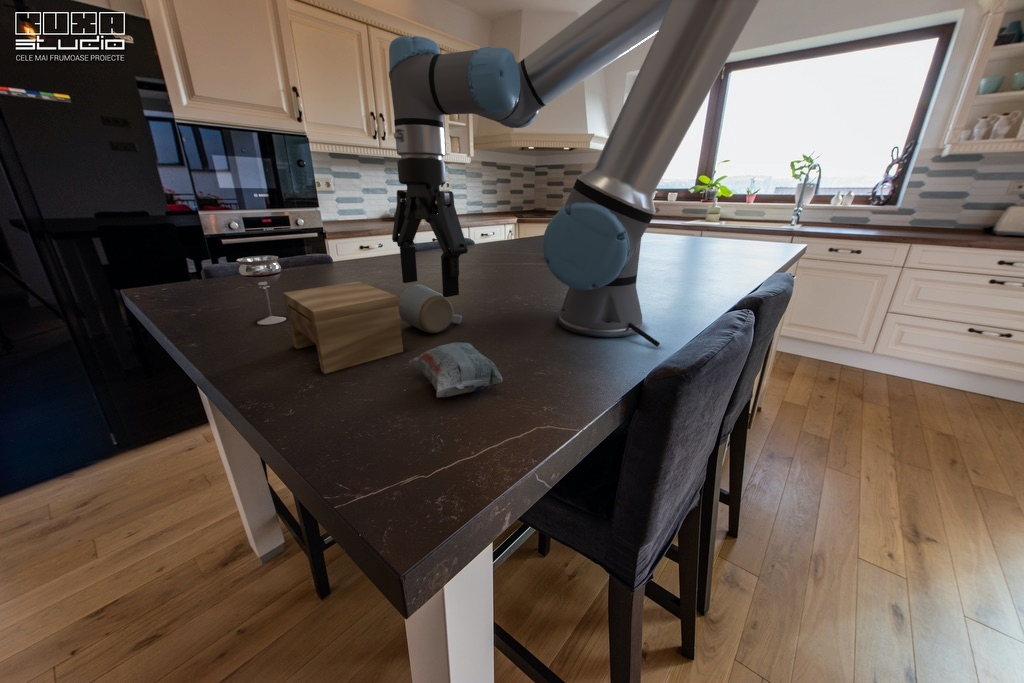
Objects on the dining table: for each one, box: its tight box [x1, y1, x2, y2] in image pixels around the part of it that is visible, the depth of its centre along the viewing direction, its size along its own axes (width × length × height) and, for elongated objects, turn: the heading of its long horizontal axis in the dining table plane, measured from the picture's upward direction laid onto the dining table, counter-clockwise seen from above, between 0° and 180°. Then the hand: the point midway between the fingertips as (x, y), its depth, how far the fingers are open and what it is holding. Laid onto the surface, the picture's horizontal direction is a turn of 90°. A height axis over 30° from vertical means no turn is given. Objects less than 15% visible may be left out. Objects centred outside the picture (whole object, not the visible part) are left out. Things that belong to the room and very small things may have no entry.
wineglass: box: [236, 255, 287, 325], centre depth 75 cm, size 7×7×12 cm
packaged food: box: [408, 341, 504, 398], centre depth 51 cm, size 9×12×5 cm
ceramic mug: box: [398, 284, 463, 334], centre depth 72 cm, size 11×8×8 cm
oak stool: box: [282, 281, 404, 375], centre depth 62 cm, size 14×12×9 cm
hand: (429, 288), depth 71 cm, fingers open, 13 cm apart
